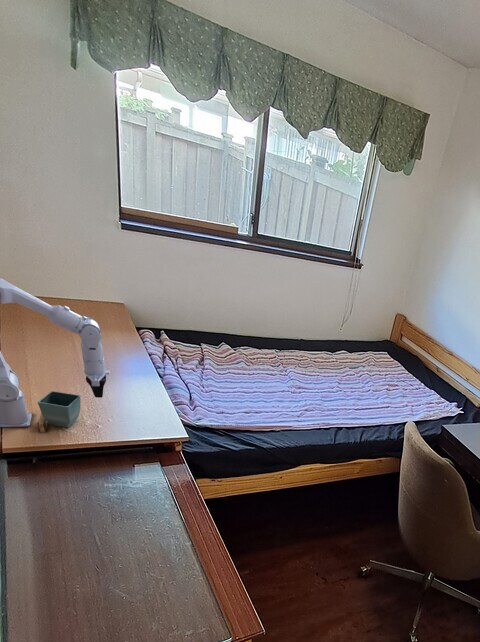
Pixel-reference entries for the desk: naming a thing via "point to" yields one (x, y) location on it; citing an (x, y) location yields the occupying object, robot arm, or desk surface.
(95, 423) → the desk surface
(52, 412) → the flower pot
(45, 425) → the stop rail
